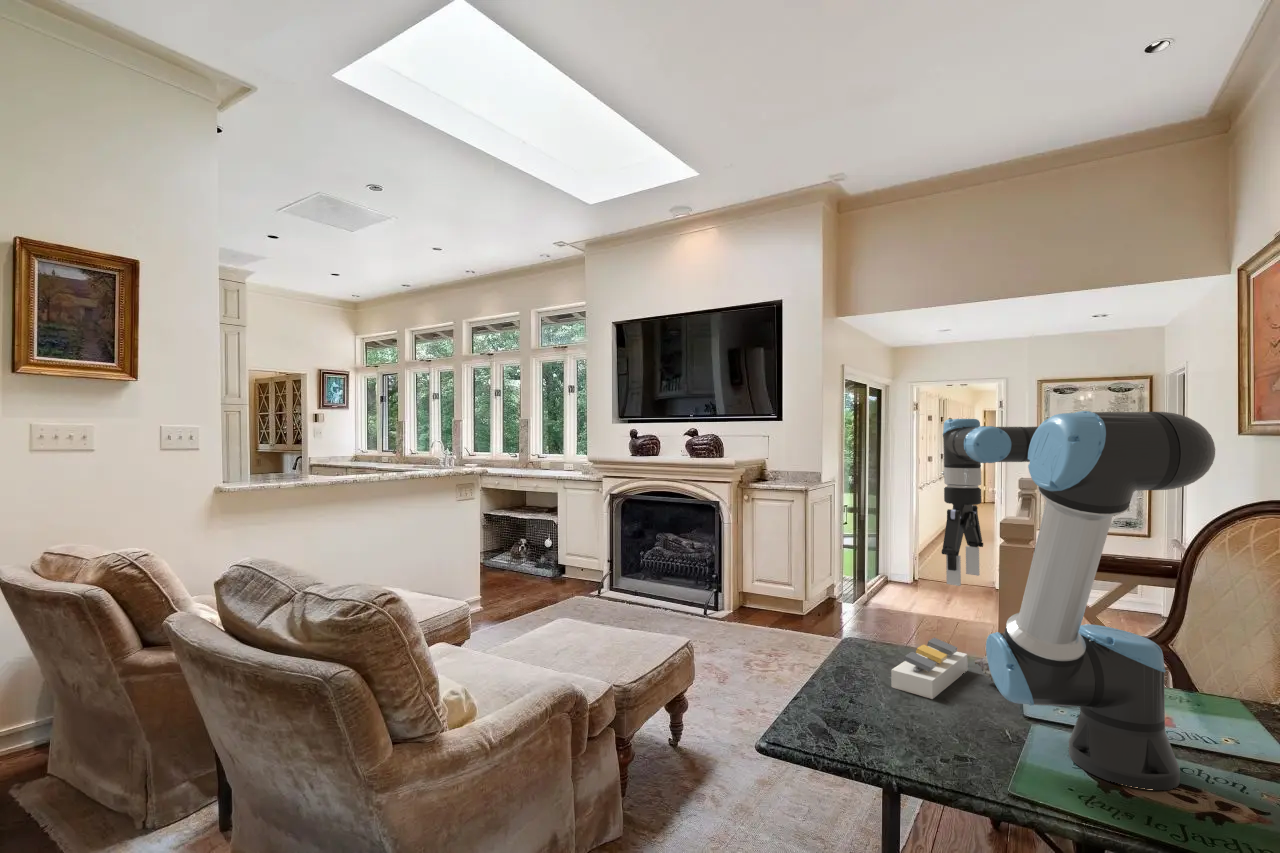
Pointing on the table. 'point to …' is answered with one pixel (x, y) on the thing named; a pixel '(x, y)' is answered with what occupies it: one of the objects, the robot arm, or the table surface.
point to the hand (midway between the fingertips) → (963, 579)
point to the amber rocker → (931, 653)
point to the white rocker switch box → (929, 675)
